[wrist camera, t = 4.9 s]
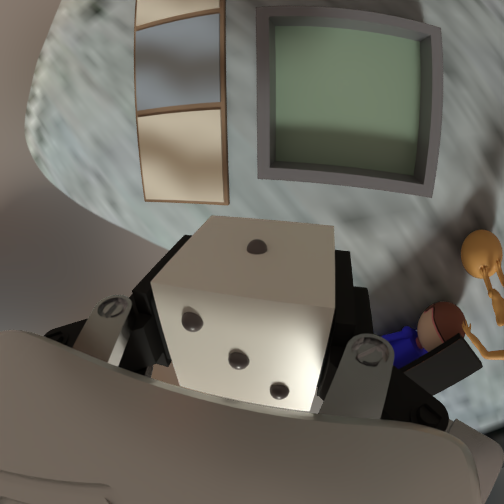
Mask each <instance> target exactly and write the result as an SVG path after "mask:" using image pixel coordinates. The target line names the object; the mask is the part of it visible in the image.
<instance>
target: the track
mask: <svg viewBox="0 0 504 504" xmlns="http://www.w3.org/2000/svg"><path fill="white" fill-rule="evenodd" d="M225 1H226V0H136V5H135V25H134V86H135V108H136V124H137V137H138V148H139V158H140V168H141V176H142V184H143V192H144V199H145V202H172V203H194V204H214V205H229V204H230V202H229V175H228V144H227V105H226V26H225Z"/></svg>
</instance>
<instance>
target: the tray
mask: <svg viewBox="0 0 504 504" xmlns="http://www.w3.org/2000/svg"><path fill="white" fill-rule="evenodd" d="M256 47H257V165H258V179H270V180H286V181H299V182H311V183H323V184H333V185H342V186H352V187H360V188H368V189H376V190H384V191H391V192H398V193H405V194H411V195H418V196H424V197H430V198H432V195H433V189H434V183H435V177H436V170H437V163H438V155H439V146H440V136H441V124H442V107H443V52H442V36H441V28H440V27H436V26H433V25H429V24H426V23H422V22H418V21H414V20H410V19H406V18H401V17H397V16H392V15H387V14H381V13H375V12H369V11H361V10H354V9H344V8H333V7H317V6H268V7H256Z"/></svg>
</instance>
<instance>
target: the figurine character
mask: <svg viewBox="0 0 504 504" xmlns="http://www.w3.org/2000/svg"><path fill="white" fill-rule="evenodd" d="M463 321H464V324H465V326H466V323H465V317H464V314H463V313H462V311H461V310H460V309H459V308H458V307H457V306H456V305H454V304H453V303H450V302H437V303H434V304H432V305H431V306H429V307H428V308H427V309H426V310H425V311H424V312H423V313H422V315H421V317H420V319H419V322H418V327H417V331H416V330H415V329H412V328H410V327H409V326H405V327H404V328H403V329H402V331H399V332H395V333H391V334H387V335H382V336H381V337H382V338H384V339H385V340H387V341H388V342H389V343H390V344H391V346H392V347H393V350H394V362H393V365H394V366H395V367H396V368H398V369H399V370H400V371H401V372H403V373H404V374H405V375H407V376H408V377H409V378H410V379H412V380H413V381H414V382H415V383H417V384H418V385H419V386H421V387H422V388H423V389H424V390H426V391H427V392H428V393H429V394H431V395H432V396H433V395H435V394H437V393H439V392H441V391H443V390H445V389H446V388H448V387H450V386H452V385H454V384H455V383H457V382H459V381H461V380H463V379H464V378H466V377H468V376H469V375H471V374H473V373H474V372H476V371H477V370H479V369H481V368H482V367H483V366H482V363H481V361H480V360H479V358H478V357H477V356H476V354H475V353H474V351H473V350H472V349H471V347H470V346H469V345H468V343H467V342H466V341H465V339H464V336H465V332H464V330H463V327H462V324H463Z"/></svg>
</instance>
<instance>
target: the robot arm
mask: <svg viewBox="0 0 504 504" xmlns="http://www.w3.org/2000/svg"><path fill="white" fill-rule="evenodd" d="M191 237H192V235H184V236H183V237H182V238H181V239H180V240H179V241H178V242H177V243H176V244H175V245H174V246H173V247H172V249H171V250H170V251H169V252H168V253H167V254H166V255H165V256H164V257H163V258H162V259H161V260H160V261H159V262H158V263H157V264H156V265H155V266H154V267H153V268H152V270H151V271H150V272H149V273H148V274H147V275H146V276H145V277H144V278H143V279H142V280H141V281H140V282H139V284H138V285H137V286H136V287H135V288H134V289H133V290H132V292H133V294H132V295H131V296H130V297H129V298H128V297H126V296H124V295H112V296H109V297H106V298H104V299H102V300H101V301H100V302H98V303H97V305H96V306H95V307H94V309H93V311H92V313H91V314H90V316H89V318H88V319H85V320H81V321H78V322H75V323H72V324H68V325H65V326H62V327H58V328H55V329H52V330H50V331H49V332H47V333H46V334H45V335H44V336H41V335H38V334H35V333H32V332H27V331H22V330H6V331H1V332H0V504H485V502H486V500H487V498H488V496H489V494H490V492H491V490H492V488H493V486H494V483H495V481H496V479H497V477H498V474H499V472H500V470H501V467H502V465H503V460H504V454H503V450H502V448H501V446H500V445H499V444H498V443H497V442H495V441H493V440H492V439H490V438H488V437H486V436H485V435H483V434H481V433H480V432H478V431H476V430H475V429H473V428H471V427H469V426H468V425H466V424H464V423H463V422H461V421H459V420H458V419H456V420H455V421H452V420H450V419H449V416H448V412H447V410H446V408H445V406H444V405H443V404H442V403H441V402H440V401H438V400H437V399H436V398H435V397H433V396H432V395H431V394H429V393H428V392H427V391H426V390H424V389H423V388H422V387H421V386H419V385H418V384H417V383H415V382H414V381H413V380H412V379H410V378H409V377H408V376H407V375H405V374H404V373H403V372H401V371H400V370H399V369H398V368H396V367H395V366H394V365H393V362H394V350H393V347H392V346H391V344H390V343H389V342H388V341H387V340H385V339H384V338H382V337H380V336H378V335H375V334H373V325H372V317H371V309H370V302H369V295H368V289H367V288H364V287H354V286H353V277H352V267H351V258H350V251H341V250H335V310H334V315H333V320H332V324H331V329H330V334H329V338H328V342H327V347H326V351H325V355H324V359H323V363H322V367H321V371H320V375H319V379H318V383H317V386H316V387H318V390H317V396H319V397H320V398H321V399H322V400H323V401H324V402H323V404H322V406H321V409H320V411H319V413H318V414H314V413H306V412H298V411H291V410H284V409H277V408H271V407H265V406H260V405H254V404H249V403H244V402H239V401H234V400H229V399H226V398H221V397H217V396H212V395H208V394H204V393H201V392H196V391H193V390H189V389H185V388H182V387H178V386H175V385H172V384H168V383H165V382H161V381H158V380H155V379H152V378H151V375H152V371H153V365H154V364H159V365H163V366H166V367H168V366H169V365H170V363H171V361H172V359H171V356H170V353H169V350H168V346H167V343H166V340H165V336H164V333H163V329H162V326H161V322H160V318H159V315H158V311H157V307H156V303H155V299H154V295H153V291H152V287H151V283H150V282H151V281H152V280H153V278H154V277H155V276H156V275H157V274H158V273H159V272H160V271H161V269H162V268H163V267H164V266H165V265H166V264H167V263H168V262H169V261H170V259H171V258H172V257H173V256H174V255H175V254H176V253H177V252H178V251H179V250H180V249H181V247H182V246H183V245H184V244H185V243H186V242H187V241H188V240H189V239H190V238H191Z"/></svg>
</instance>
